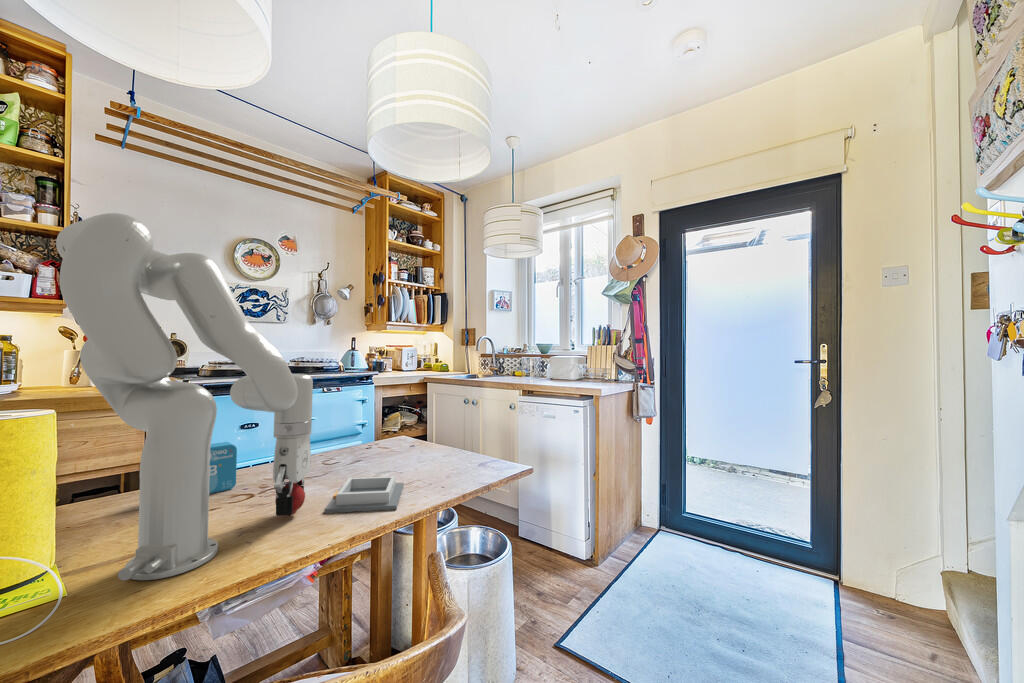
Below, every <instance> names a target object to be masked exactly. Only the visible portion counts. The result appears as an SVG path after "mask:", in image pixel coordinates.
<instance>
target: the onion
mask: <svg viewBox="0 0 1024 683" xmlns="http://www.w3.org/2000/svg"><path fill="white" fill-rule="evenodd" d="M288 482H290V480H289V481H288ZM284 487H286V488H287V490H288V485H284ZM291 496H293V513H292V514H291V515H287V516H293V515H294V513H296V512H297V511H298V510H300V509H301V507H302V506H303V505H304V503H305V499H306V492H305V489H304V490H303V488H302V487H300V486H299V485H298V484H295V483H294V482H293V488H292V494H291ZM275 503H276V499H275Z"/></svg>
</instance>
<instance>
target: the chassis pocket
mask: <svg viewBox="0 0 1024 683" xmlns="http://www.w3.org/2000/svg"><path fill="white" fill-rule="evenodd" d="M403 486H404V487H405V483H404V482H396V476H395V475H394V476H393V475H391V476H372V477H371V476H370V477H369V476H368V477H367V476H365V477H348V478H347V480H345V482H344V484H343V485H341V487H339V489H338V491H335V492H334V494H333V495H332V498H331V500H330V501H329V502H328V504H327V505H326V506H325V507H324V514H338V513H337V512H342V513H354V512H353V511H362V512H372V511H371V510H382V511H391V510H390V509H397V510H398V507H397V506H399V502H400V500H401V497H400V496H402V494H401V493H403V490H404V487H403ZM402 489H403V490H402ZM399 499H400V500H399ZM388 509H389V510H388ZM369 510H370V511H369Z"/></svg>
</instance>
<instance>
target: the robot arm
mask: <svg viewBox="0 0 1024 683" xmlns="http://www.w3.org/2000/svg"><path fill="white" fill-rule="evenodd" d="M55 246H56V249H57V253H58V254H59V255H60V257H61V258H62V261H61V263H60V264H61V265H60V269H59V270H60V271H59V288H60V292H61V295H62V299H63V301H64V303H65V305H66V307H67V308H68V310H69V312H70V314H71V315H72V317H73V318H74V320H75V322H76V323H77V325H78V326H79V328H80V330H81V331H82V332H83V334H84V336H85V337H86V338H87V340H85V342H84V343H83V345H82V346H81V349H80V351H79V352H80V353H79V358H80V360H79V361H80V364H81V367H82V369H83V371H84V373H85V375H86V376H87V377H88V378H89V380H90V381H91V382H92V384H93V385H94V387H95V388H96V389H97V391H98V392H99V393H100V394H101V396H102V397H103V398H104V400H105V401H106V403H108V405H109V406H110V407H111V409H112V410H113V411H114V412H115V414H116V415H117V416H118V417H119V418H120V420H122V421H123V422H124V423H125V424H127V425H128V426H130V427H132V428H133V429H135V430H140V431H143V432H146V437H145V441H144V444H143V447H142V451H141V454H140V455H141V456H140V460H139V461H140V462H139V497H138V498H139V500H138V537H137V538H138V539H137V543H138V544H137V549H135V555H134V556H133V557H132V558H131V559H130V560H129V561H127V562H126V564H125V566H124V567H123V568H121V569H120V570H119V571H118V573H117V577H118V579H119V580H120V581H129V580H134V581H153V580H159V579H166V578H169V577H173V576H177V575H180V574H184V573H187V572H190V571H192V570H195V569H197V568H198V567H200V566H202V565H204V564H206V563H207V562H210V560H212V559H213V558H214V557H215V556H216V555H217V553H218V552H219V543H218V541H217V540H215V539H213V538H209V516H210V514H209V513H210V512H209V511H210V509H209V508H210V494H209V479H210V447H211V444H212V438H213V433H214V428H215V423H216V420H217V415H218V414H217V413H218V412H217V410H218V407H217V402H216V399H215V398H214V396H213V394H212V393H211V392H210V391H209V390H207V389H206V388H205V387H203V386H202V385H198V384H195V383H192V382H186V381H177V380H172V379H171V378H170V377H169V376H171V374H172V373H173V372H174V371H175V369H176V368H177V364H178V354H177V352H176V349H175V347H174V345H173V343H172V342H171V340H170V339H169V337H168V335H167V334H166V332H164V330H163V328H162V327H161V325H160V324H159V322H158V321H157V319H156V318H155V316H154V314H153V313H152V312H151V310H150V308H149V306H148V304H147V303H146V301H145V300H144V296H143V295H142V294H144V295H148V296H150V297H154V298H155V299H156V298H157V299H160V300H165V301H175V302H176V304H177V305H178V307H179V308H180V309H181V311H182V312H183V315H184V316H185V318H186V319H187V321H188V322H189V324H190V326H191V327H192V329H193V331H194V332H195V335H196V336H197V338H198V339H199V341H200V342H201V343H202V344H203V345H205V346H206V347H207V348H209V350H212V351H214V353H216V354H219V355H220V356H223V357H225V358H226V359H228V360H230V361H231V362H232V363H234V364H235V365H236V366H237V367H238V368H240V369H241V370H242V371H243V372H244V373H245V375H244V376H242V377H240V378H237V380H236V381H235V382H233V384H232V385H231V387H230V390H229V396H230V399H231V401H232V402H233V404H235V405H236V406H238V407H240V408H241V409H245V410H251V411H256V412H267V413H273V418H274V419H273V438H276V440H275V446H274V447H275V448H274V455H273V470H272V475H273V476H272V480H273V483H274V485H273V488H274V490H275V493H276V494H275V500H276V502H275V516H277V517H280V516H281V517H282V516H288V515H290V516H292V515H291V514H292V513H293V496H291V494H292V488H293V482H294V483H295V484H298V485H299V486H300V487H302V488H303V490H304V491H305V486H304V485H305V477H306V476H307V475H309V473H310V472H311V469H312V465H311V463H312V462H311V460H312V459H311V457H312V456H311V451H312V450H311V437H310V435H312V423H313V422H312V418H313V417H312V416H313V414H312V413H313V392H314V389H313V388H314V387H313V385H314V384H313V383H314V381H313V378H312V376H311V375H309V374H305V373H302V374H301V373H293V372H291V371H292V370H291V369H290V368H289V366H288V364H287V362H286V360H285V358H284V357H283V356H282V355H281V353H280V352H279V351H278V350H277V349H276V347H274V345H272V344H271V343H270V342H269V341H268V340H267V338H265V337H264V336H263V335H262V334H261V333H260V332H259V331H258V330H257V329H255V328H254V327H253V326H252V324H250V322H249V320H248V319H247V317H246V315H245V313H244V312H243V309H242V308H241V306H240V304H239V303H238V301H237V299H236V297H235V294H234V293H233V292H232V290H231V288H230V286H229V283H228V282H227V280H226V279H225V277H224V275H223V274H222V271H221V270H220V268H219V267H218V265H217V264H216V263H215V262H214V261H213V259H211V258H210V257H209V256H207V255H205V254H201V253H197V252H183V253H175V254H170V255H168V254H166V253H164V252H160V251H157V250H154V240H153V236H152V234H151V232H150V230H149V229H148V227H147V226H146V225H145V224H144V223H143V222H141V221H140V220H138V219H137V218H135V217H133V216H131V215H127V214H124V213H117V212H116V213H115V212H111V213H110V212H109V213H102V214H96V215H93V216H90V217H87V218H85V219H83V220H80V221H76V222H73V223H71V224H68V225H66V226H65V227H64V228H63V229H61V230H60V231H59V232H58V234H57V237H56V240H55ZM285 480H289V481H290V482H289V481H285ZM285 485H288V490H287V488H286V487H284V486H285Z"/></svg>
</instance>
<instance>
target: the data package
mask: <svg viewBox="0 0 1024 683" xmlns="http://www.w3.org/2000/svg"><path fill="white" fill-rule="evenodd" d="M237 455H238V448H237V446H236V445H235V444H233V443H232V442H229V441H223V442H216V443H211V447H210V479H209V495H211V493H212V494H216V493H220V492H219V491H221V492H225V490H226V491H229V489H230V490H231V489H232V490H233V488H234V487H235V486H236V484H237V467H238V466H237V465H238V463H237V462H238V460H237V459H238V456H237ZM215 492H216V493H215Z"/></svg>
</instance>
